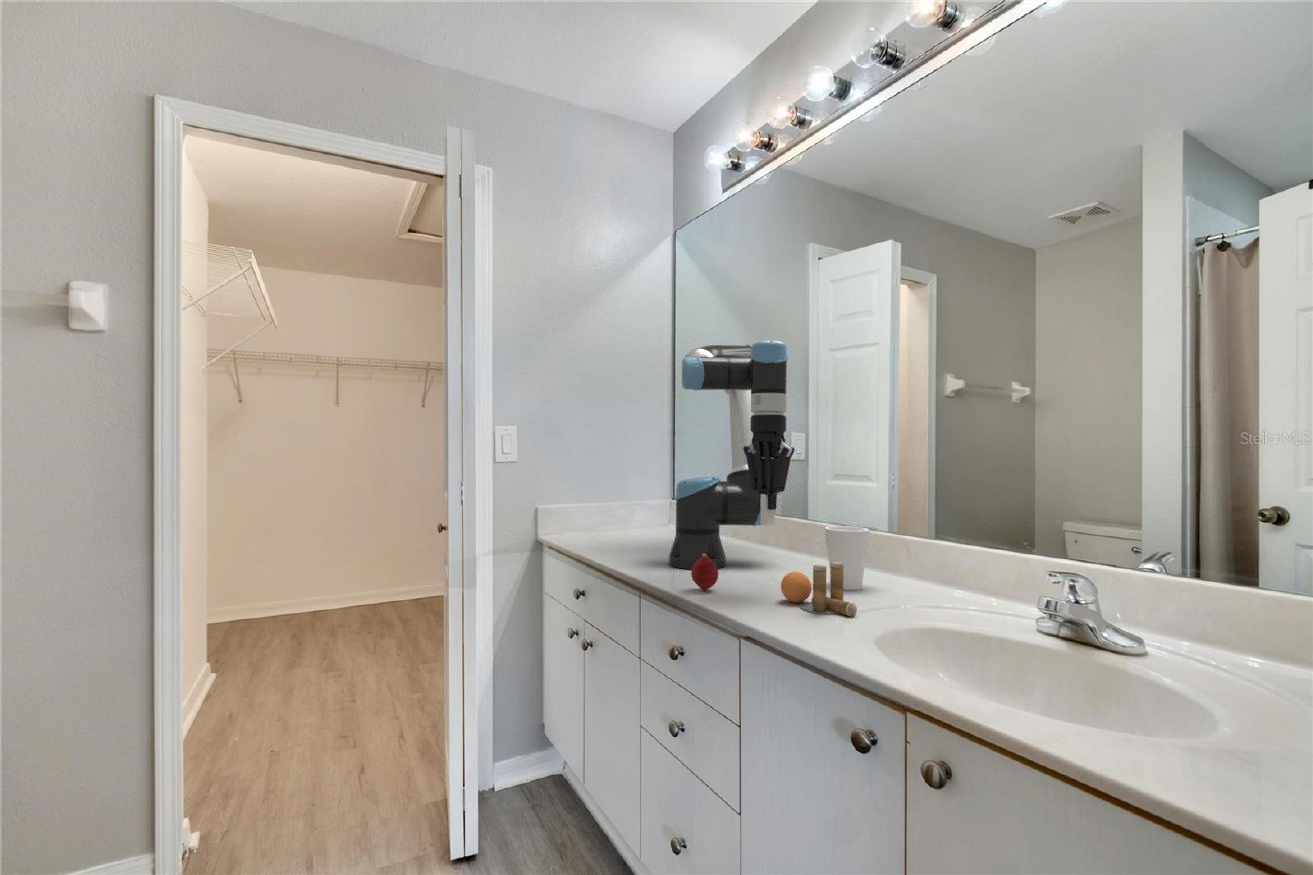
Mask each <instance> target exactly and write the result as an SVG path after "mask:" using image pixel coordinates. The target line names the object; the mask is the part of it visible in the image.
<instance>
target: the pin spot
mask: <svg viewBox="0 0 1313 875" xmlns="http://www.w3.org/2000/svg"><path fill="white" fill-rule="evenodd" d="M799 608H800V609H801V610H802V611H805V612H808V613H812V614H817V615H837V614H840V613H837V612H833V611H830V610H826V612H815V611H813V605H812V601H809V602H808V601H807V602H803V603H801V604H799Z"/></svg>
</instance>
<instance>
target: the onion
mask: <svg viewBox="0 0 1313 875" xmlns="http://www.w3.org/2000/svg"><path fill="white" fill-rule="evenodd" d="M690 573H691V579H692V581H693V582H694V584H696V585H697V587H698V588H700V590H701V591H703V592H707V591H708V590H709V589H710V588H713V586H715V585H716V583H717V581H718V580H719V568H717V566H716V564H715V563H714V562H713V561H712V560H711V559H709V558H708V556H707V555H706V554H704V553H702V558H700V559H699V560H698V561H697V562H696V563H695V564H694V566H693V568H692V569H691V572H690Z"/></svg>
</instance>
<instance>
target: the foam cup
mask: <svg viewBox="0 0 1313 875" xmlns="http://www.w3.org/2000/svg"><path fill="white" fill-rule="evenodd" d="M824 538H825V541H826V547H827V548H826V550H827V557H828V558H827V559H828V565H829V567H830V563H831V562H840V563H843V590H847V591H856V590H861V589H862V585H863V580H864V572H865V565H866V559H867V551H868V545H869V544H868V542H869V541H870V529H869V528H865V527H861V526H849V525H848V526H847V525H831V526H826V527H824ZM860 588H861V589H860Z"/></svg>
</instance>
